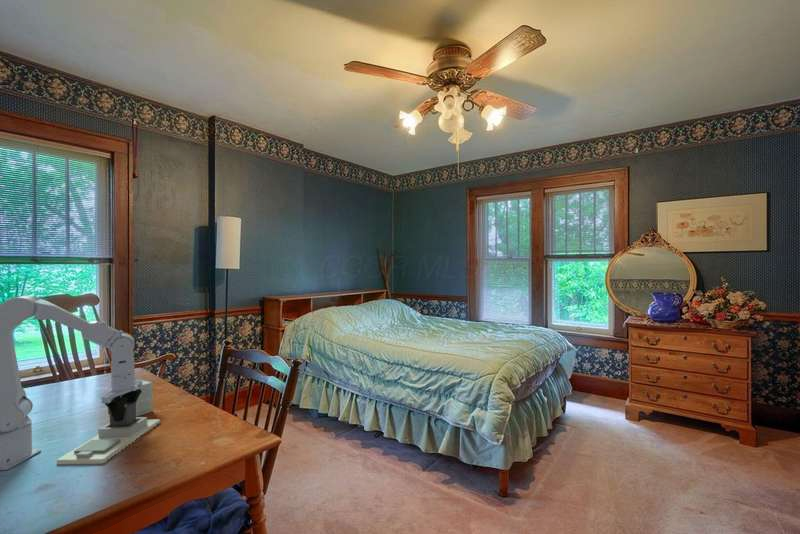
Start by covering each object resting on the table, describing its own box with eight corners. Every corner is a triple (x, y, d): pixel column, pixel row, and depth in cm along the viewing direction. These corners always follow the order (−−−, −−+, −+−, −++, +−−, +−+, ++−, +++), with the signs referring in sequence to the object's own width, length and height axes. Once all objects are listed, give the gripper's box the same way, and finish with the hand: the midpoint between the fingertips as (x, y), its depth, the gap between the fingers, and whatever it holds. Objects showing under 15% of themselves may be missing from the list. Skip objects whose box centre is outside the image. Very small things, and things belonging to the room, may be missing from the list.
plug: (126, 426, 110) (126, 407, 110) (105, 427, 110) (105, 407, 110) (136, 420, 114) (135, 401, 114) (115, 421, 114) (115, 402, 114)
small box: (123, 412, 128) (122, 383, 128) (140, 407, 133) (140, 378, 133) (135, 417, 124) (135, 387, 124) (153, 411, 129) (152, 382, 129)
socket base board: (103, 463, 96) (103, 449, 96) (56, 464, 96) (56, 450, 96) (160, 422, 120) (159, 411, 120) (122, 423, 120) (122, 412, 120)
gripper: (119, 381, 104) (119, 428, 105) (151, 366, 119) (152, 407, 119) (93, 381, 104) (94, 428, 104) (129, 366, 119) (130, 408, 119)
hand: (123, 417), depth 112 cm, fingers closed on plug, 4 cm apart
